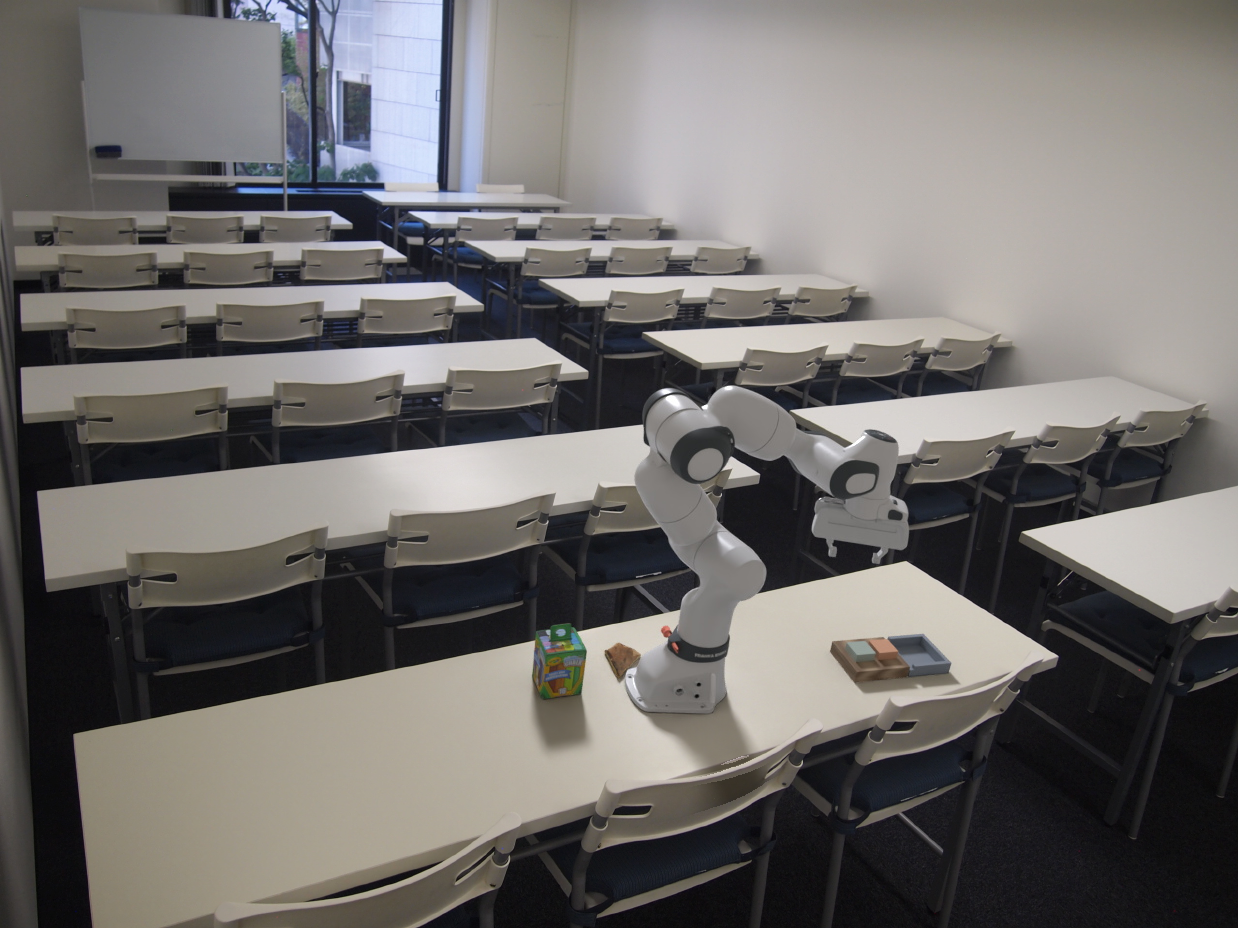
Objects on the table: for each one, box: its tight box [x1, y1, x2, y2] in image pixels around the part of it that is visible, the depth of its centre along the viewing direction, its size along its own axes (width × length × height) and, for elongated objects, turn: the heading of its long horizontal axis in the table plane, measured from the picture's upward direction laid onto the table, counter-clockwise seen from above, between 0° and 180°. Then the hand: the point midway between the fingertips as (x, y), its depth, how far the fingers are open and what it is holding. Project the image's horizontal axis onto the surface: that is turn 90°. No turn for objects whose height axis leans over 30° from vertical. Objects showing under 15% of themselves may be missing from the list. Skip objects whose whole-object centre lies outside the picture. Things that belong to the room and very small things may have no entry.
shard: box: [604, 642, 642, 679], centre depth 208 cm, size 11×8×2 cm
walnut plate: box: [829, 636, 910, 683], centre depth 217 cm, size 14×12×3 cm
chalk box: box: [531, 622, 588, 700], centre depth 196 cm, size 9×9×15 cm
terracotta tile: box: [868, 638, 898, 660], centre depth 217 cm, size 5×5×2 cm
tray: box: [887, 633, 952, 678], centre depth 221 cm, size 11×12×3 cm
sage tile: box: [845, 641, 876, 662], centre depth 215 cm, size 5×5×2 cm
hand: (853, 558), depth 201 cm, fingers open, 8 cm apart
